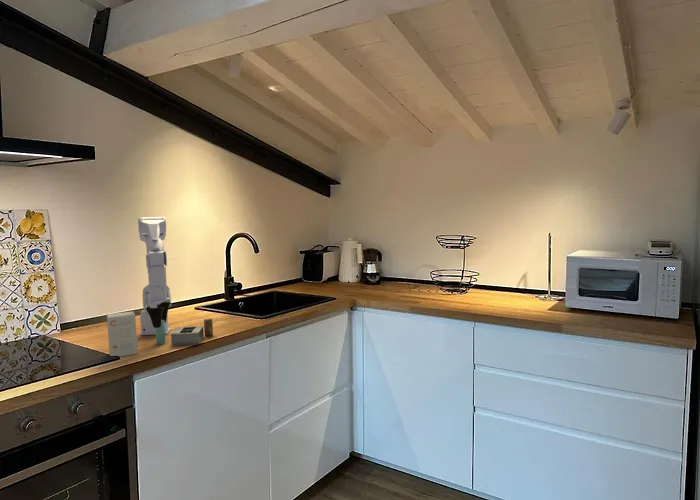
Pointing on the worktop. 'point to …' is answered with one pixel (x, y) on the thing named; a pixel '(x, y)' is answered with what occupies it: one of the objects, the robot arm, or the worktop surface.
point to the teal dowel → (160, 334)
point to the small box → (122, 334)
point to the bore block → (187, 335)
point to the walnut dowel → (208, 327)
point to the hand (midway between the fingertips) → (159, 325)
